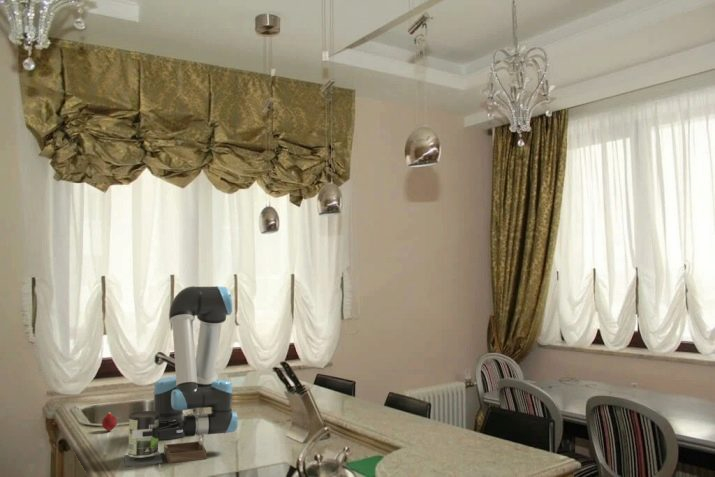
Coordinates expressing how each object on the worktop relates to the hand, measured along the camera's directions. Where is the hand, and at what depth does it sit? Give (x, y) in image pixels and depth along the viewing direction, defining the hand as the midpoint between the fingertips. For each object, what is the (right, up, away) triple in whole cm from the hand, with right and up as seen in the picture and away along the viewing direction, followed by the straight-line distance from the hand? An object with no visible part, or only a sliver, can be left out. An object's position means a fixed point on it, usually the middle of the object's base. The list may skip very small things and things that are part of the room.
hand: (131, 430), depth 217 cm
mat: (+4, -11, +1) cm, 12 cm away
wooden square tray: (+17, -11, +7) cm, 22 cm away
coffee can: (+4, -9, +1) cm, 10 cm away
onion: (-24, -13, +40) cm, 49 cm away
